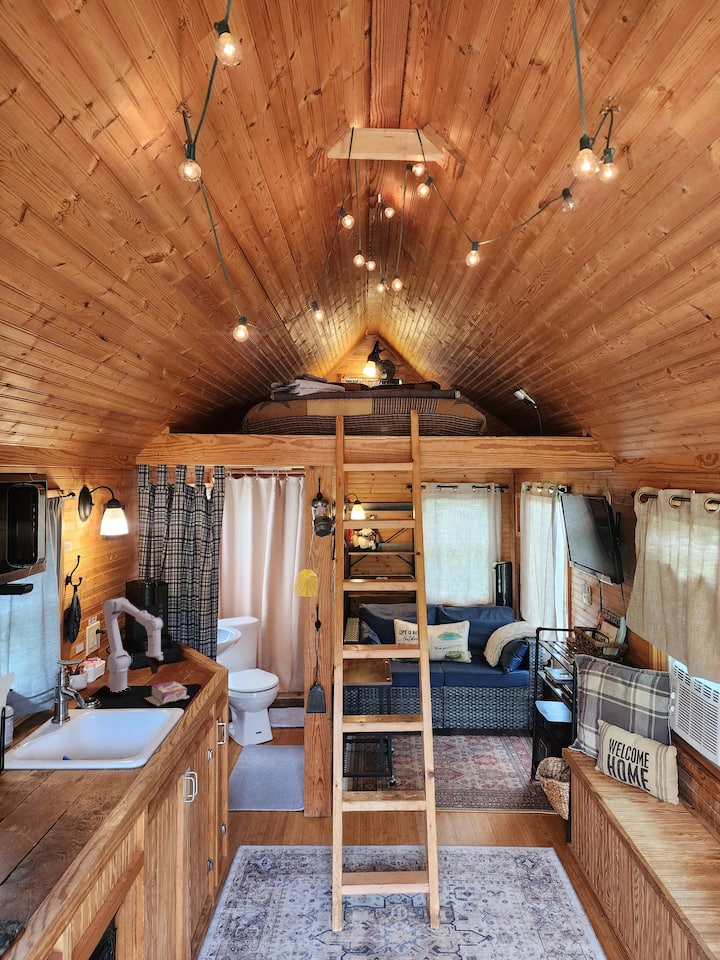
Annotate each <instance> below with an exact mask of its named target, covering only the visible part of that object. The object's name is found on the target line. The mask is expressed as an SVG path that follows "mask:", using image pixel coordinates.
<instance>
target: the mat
mask: <svg viewBox="0 0 720 960" xmlns="http://www.w3.org/2000/svg"><path fill="white" fill-rule="evenodd" d="M189 698H190V695H187V699H189ZM144 699H146V700H147V702H148V701H149V703H151V704H153V705H155V706H156V707H159V706H162V705H167V704H170V703H169V702H168V703H167V704H166V703H161V702H160V701H159V700H157V699H156V698H155V697H154V696H152V695H151V696H147V697H144V698H143V700H144ZM146 700H145V701H146Z"/></svg>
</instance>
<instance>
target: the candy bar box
mask: <svg viewBox="0 0 720 960" xmlns="http://www.w3.org/2000/svg"><path fill="white" fill-rule="evenodd" d="M187 692H188V688H187V687H185V686H184V685H182V684H181V683H180V682H177V681H176V680H173V681H169V682H163V683H162V682H161V683H158V684H152V685H151V696H154V697H155V698H156V699H157V700H159V701H160V702H161V703H167V704H169V703H168V702H171V703H174V702H178V701H183V700H186V699H187V700H188V698H187V696H188V695H187V694H188V693H187ZM173 701H174V702H173Z"/></svg>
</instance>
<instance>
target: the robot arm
mask: <svg viewBox="0 0 720 960" xmlns="http://www.w3.org/2000/svg"><path fill="white" fill-rule="evenodd" d="M102 609H103V612H104V613H103V617H104V618H103V619H104V623H105V629H106V634H107V635H106V636H107V639H108V645H109V647H110V648H109V649H110V654H109V655H108V657H107V664H106V665H107V670H108V671H109V675H108V688H110V691H109V692H111V691H112V692H111V693H113V692H116V693H120V692H123V691H122V690H125V689H126V688H130V687H128V670H129V667H130V666H131V663H132V662H131V658H130V656H129V654H128V652H127V651H126V650H124V649H123V643H122V639H121V638H122V637H121V634H120V628H119V623H118V617H119V616H120V614H121V613H123V611H124V612H125V613H127V614H129V615H131V616H132V617H134V618H135V621H136V622H138V623H139V624H141V626H143V627H144V628H145V631H146V632H147V633H146V634H147V651H145V656H146V657H149V658H147V659H146V661H147V662H148V664H149V665H148V666H149V668H150V671H151V674H152V675H155V674H158V671H159V667H160V664H161V662H162V661H163V660H164V655H163V654H164V652H163V651H161V650H162V649H161V648H162V647H161V646H162V645H161V644H162V642H161V640H162V639H161V635H162V634H161V632H162V631H161V630H162V628H163V627H164V621H163V619H162V618H161V617H159V616H158V617H155V616H154V615H152V614H151V613H148V611H147V610H140V609H139V608H137V607H136V606H134V605H133V604H132V603H130V601H129V599H126V597H124V596H122V597H121V596H120V597H117V598H112V599H107V600H105V602H104V604H103V605H102ZM119 691H120V692H119ZM125 691H126V690H125Z"/></svg>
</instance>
